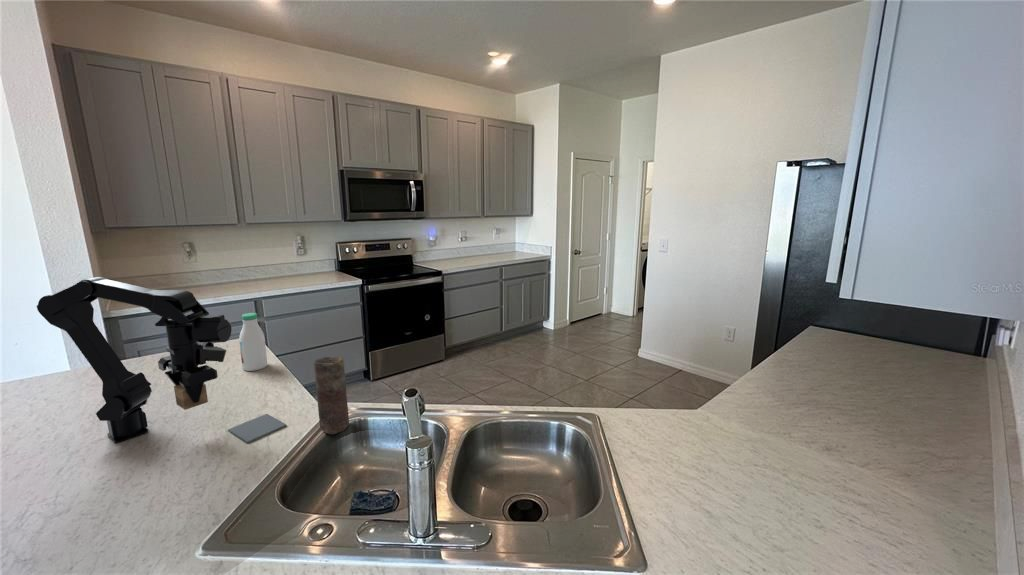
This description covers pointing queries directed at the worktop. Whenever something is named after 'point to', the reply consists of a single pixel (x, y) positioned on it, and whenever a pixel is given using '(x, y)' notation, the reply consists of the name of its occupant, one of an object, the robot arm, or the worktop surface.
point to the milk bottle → (252, 344)
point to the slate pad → (257, 428)
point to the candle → (331, 394)
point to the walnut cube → (185, 400)
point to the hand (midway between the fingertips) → (191, 399)
